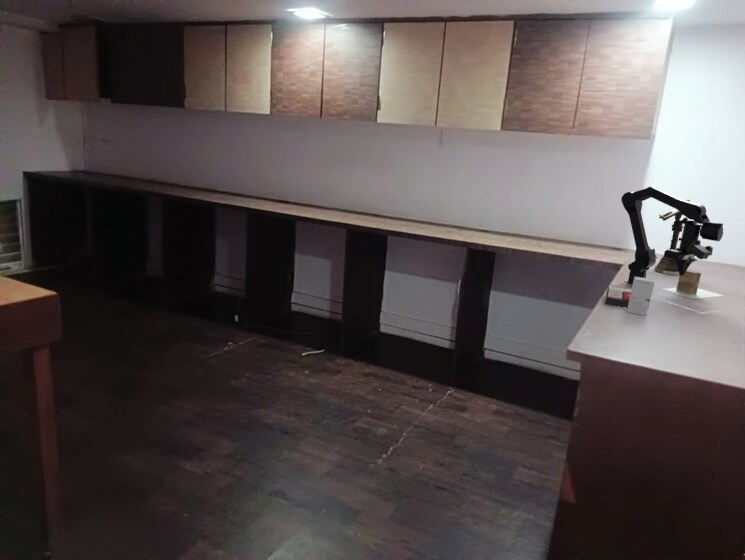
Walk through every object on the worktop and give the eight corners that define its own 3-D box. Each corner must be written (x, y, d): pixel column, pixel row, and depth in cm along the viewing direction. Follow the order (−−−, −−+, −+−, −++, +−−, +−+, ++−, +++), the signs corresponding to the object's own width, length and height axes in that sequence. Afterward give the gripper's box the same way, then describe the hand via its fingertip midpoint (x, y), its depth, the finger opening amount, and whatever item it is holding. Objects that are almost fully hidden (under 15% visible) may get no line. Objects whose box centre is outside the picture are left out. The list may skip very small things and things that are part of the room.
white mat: (692, 299, 221) (692, 298, 221) (660, 289, 233) (661, 288, 233) (724, 296, 230) (724, 295, 230) (692, 287, 242) (692, 286, 242)
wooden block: (689, 295, 226) (694, 273, 224) (676, 290, 231) (681, 269, 229) (696, 294, 228) (701, 272, 225) (682, 290, 233) (687, 269, 230)
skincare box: (628, 313, 196) (635, 279, 193) (626, 309, 200) (633, 276, 197) (647, 316, 194) (654, 281, 191) (645, 312, 198) (652, 278, 195)
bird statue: (644, 271, 266) (659, 196, 257) (642, 266, 278) (656, 194, 269) (683, 277, 261) (700, 201, 252) (679, 271, 273) (696, 198, 264)
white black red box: (606, 295, 203) (608, 284, 216) (604, 306, 205) (606, 295, 218) (639, 301, 199) (639, 289, 212) (637, 312, 200) (637, 300, 214)
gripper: (693, 241, 210) (684, 281, 214) (725, 240, 218) (715, 279, 222) (667, 235, 220) (658, 274, 223) (698, 234, 228) (689, 272, 232)
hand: (681, 275), depth 225 cm, fingers closed
